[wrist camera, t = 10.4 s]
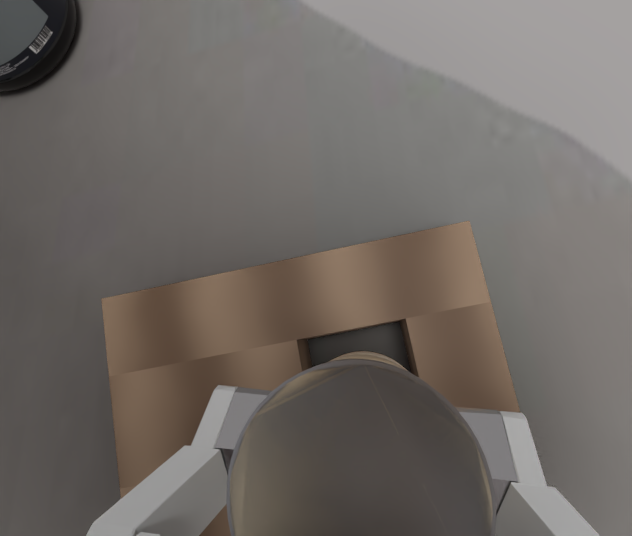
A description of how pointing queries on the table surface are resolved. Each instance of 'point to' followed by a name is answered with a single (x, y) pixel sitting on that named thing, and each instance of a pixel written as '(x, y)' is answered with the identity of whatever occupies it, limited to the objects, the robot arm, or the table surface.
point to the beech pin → (358, 458)
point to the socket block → (296, 335)
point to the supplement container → (33, 39)
